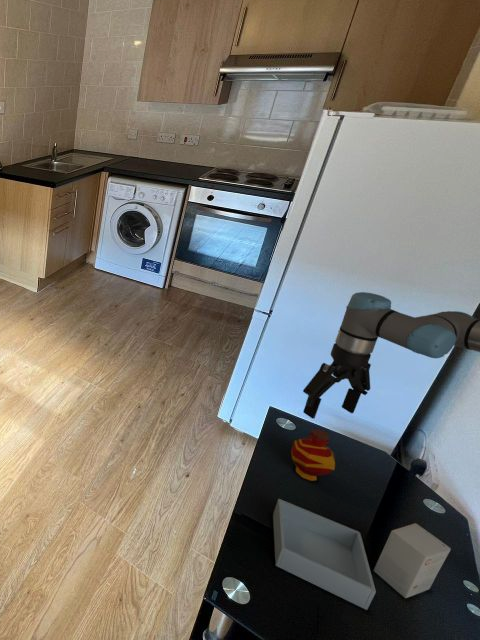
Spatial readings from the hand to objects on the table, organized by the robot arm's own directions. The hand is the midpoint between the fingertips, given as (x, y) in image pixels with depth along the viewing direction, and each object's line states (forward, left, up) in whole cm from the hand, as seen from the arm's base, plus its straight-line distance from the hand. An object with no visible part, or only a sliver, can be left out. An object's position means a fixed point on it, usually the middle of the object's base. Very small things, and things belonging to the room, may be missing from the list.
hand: (328, 412), depth 115 cm
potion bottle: (0, 0, -22) cm, 22 cm away
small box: (-15, +26, -23) cm, 38 cm away
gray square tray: (+1, +31, -22) cm, 38 cm away
